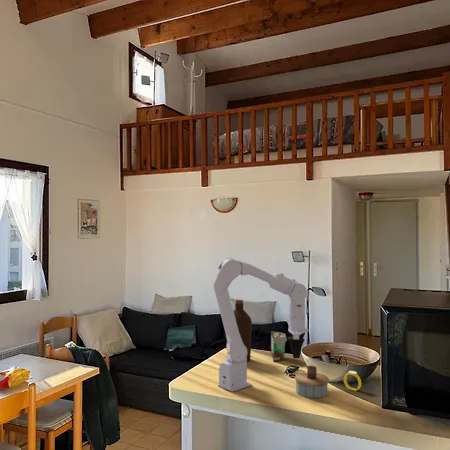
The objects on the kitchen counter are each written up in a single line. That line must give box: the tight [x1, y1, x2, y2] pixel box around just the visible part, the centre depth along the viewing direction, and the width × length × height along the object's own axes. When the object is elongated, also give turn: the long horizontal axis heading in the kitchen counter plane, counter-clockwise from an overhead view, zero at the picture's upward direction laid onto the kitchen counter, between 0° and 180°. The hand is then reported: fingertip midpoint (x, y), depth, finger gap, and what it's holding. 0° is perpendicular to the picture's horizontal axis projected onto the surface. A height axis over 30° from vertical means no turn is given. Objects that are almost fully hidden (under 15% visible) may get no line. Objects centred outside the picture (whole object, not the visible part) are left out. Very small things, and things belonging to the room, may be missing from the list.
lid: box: [294, 365, 330, 386], centre depth 143 cm, size 11×11×4 cm
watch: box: [343, 370, 362, 392], centre depth 146 cm, size 6×3×6 cm, turn 43°
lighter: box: [321, 354, 331, 363], centre depth 156 cm, size 7×2×8 cm, turn 38°
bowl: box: [295, 381, 329, 399], centre depth 143 cm, size 10×10×4 cm
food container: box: [270, 331, 288, 363], centre depth 181 cm, size 12×6×10 cm, turn 179°
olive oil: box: [227, 299, 253, 363], centre depth 178 cm, size 11×11×25 cm
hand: (296, 354), depth 152 cm, fingers open, 7 cm apart
